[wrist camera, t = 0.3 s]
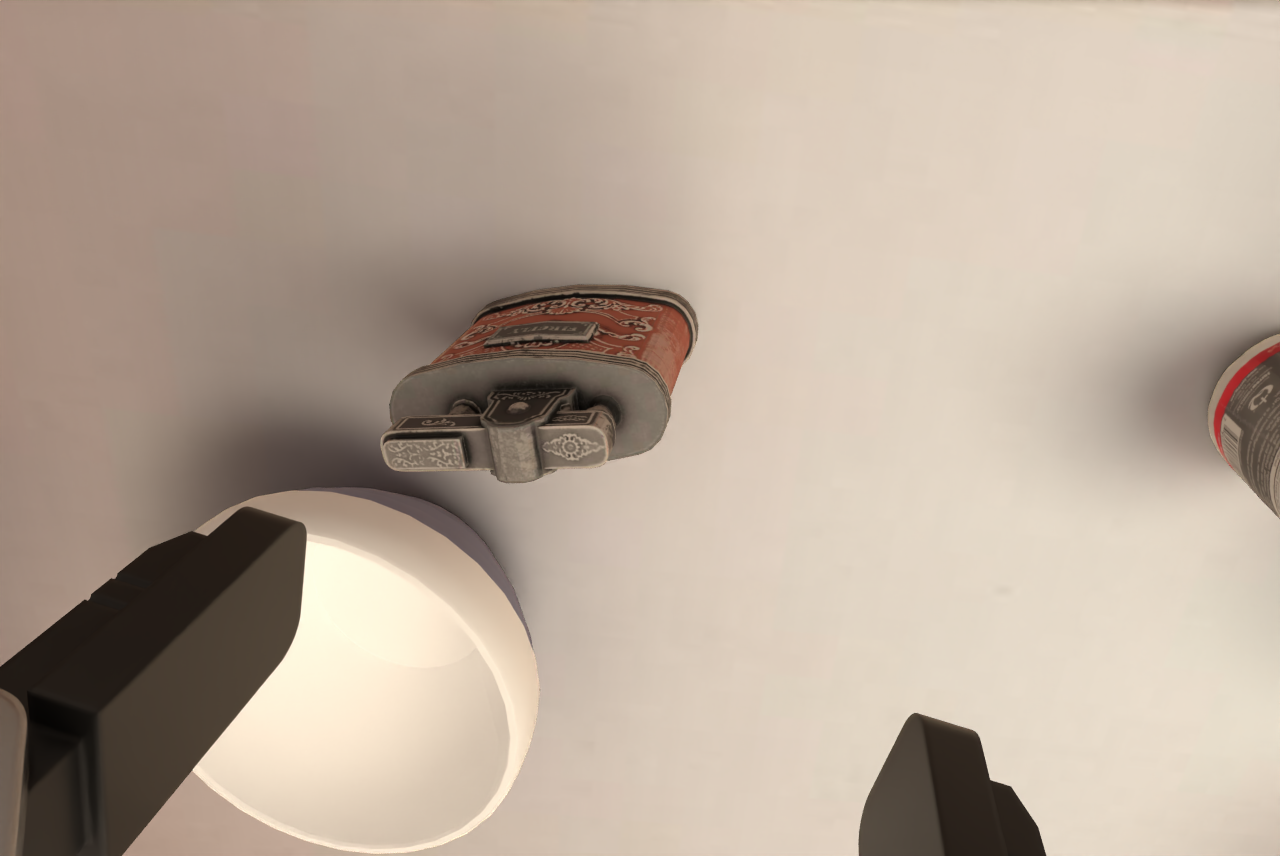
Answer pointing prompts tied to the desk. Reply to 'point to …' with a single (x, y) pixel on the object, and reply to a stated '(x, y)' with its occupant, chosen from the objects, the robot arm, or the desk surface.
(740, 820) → the desk surface
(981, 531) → the desk surface
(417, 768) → the bowl
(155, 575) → the robot arm
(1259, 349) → the pill bottle
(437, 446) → the lighter
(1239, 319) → the desk surface
